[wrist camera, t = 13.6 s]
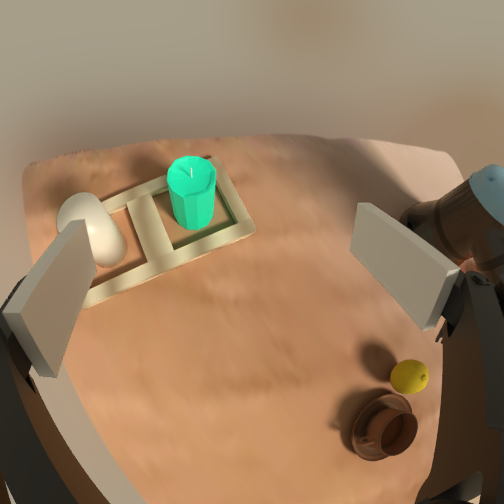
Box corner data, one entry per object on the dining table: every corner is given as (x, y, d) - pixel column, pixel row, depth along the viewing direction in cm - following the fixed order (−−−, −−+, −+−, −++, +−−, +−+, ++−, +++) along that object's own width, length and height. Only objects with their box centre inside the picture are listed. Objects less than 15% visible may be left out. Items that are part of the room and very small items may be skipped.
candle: (166, 211, 42) (154, 167, 31) (195, 187, 44) (193, 139, 33) (192, 238, 41) (188, 201, 30) (221, 212, 43) (228, 169, 32)
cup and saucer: (359, 469, 34) (378, 482, 29) (336, 419, 37) (355, 429, 31) (412, 429, 37) (434, 436, 32) (394, 378, 40) (417, 381, 34)
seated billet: (120, 223, 40) (95, 184, 29) (132, 258, 39) (107, 227, 28) (87, 239, 39) (53, 205, 27) (97, 274, 38) (62, 250, 26)
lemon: (382, 360, 40) (413, 361, 33) (407, 358, 41) (439, 358, 33) (379, 393, 39) (409, 399, 31) (405, 389, 39) (435, 394, 32)
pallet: (216, 160, 46) (217, 155, 44) (255, 233, 43) (257, 229, 42) (61, 227, 38) (57, 224, 37) (84, 310, 36) (80, 308, 34)
